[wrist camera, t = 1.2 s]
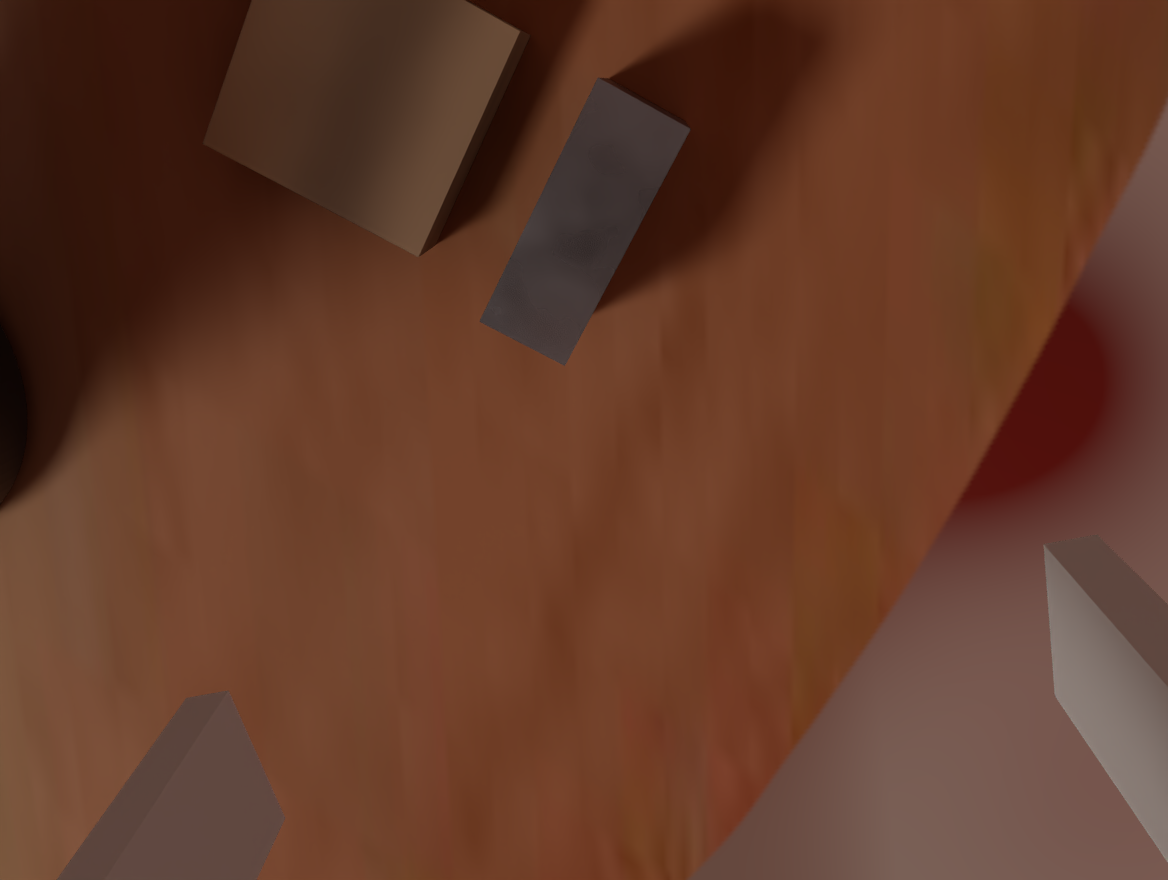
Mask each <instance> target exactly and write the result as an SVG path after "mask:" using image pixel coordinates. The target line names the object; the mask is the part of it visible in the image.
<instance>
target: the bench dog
mask: <svg viewBox="0 0 1168 880" xmlns="http://www.w3.org/2000/svg"><path fill="white" fill-rule="evenodd" d="M690 130H691V129H690V127H689V126H688V124H687V123H686V121H684V120H682V119H680V118H679V117H677V116H675V115H673V114H671V113H670V112H668V111H666V110H664V109H663V108H661V107H659V106H657V105H655V104H654V103H652V102H650V101H648V100H646V99H645V98H643V97H641V96H639V95H637V94H636V93H634V92H632V91H630V90H628V89H627V88H625V87H623V86H621V85H619V84H618V83H616V82H614V81H612V80H610V79H609V78H598V79H597V81H596V83H595V85H594V87H593V89H592V91H591V93H590V95H589V97H588V99H587V101H586V103H585V105H584V107H583V109H582V111H581V114H580V116H579V118H578V120H577V122H576V124H575V126H574V128H573V130H572V132H571V134H570V136H569V138H568V140H567V142H566V144H565V146H564V149H563V151H562V153H561V155H560V157H559V159H558V161H557V163H556V165H555V167H554V169H553V171H552V173H551V175H550V177H549V179H548V182H547V184H546V186H545V188H544V190H543V192H542V194H541V196H540V198H539V200H538V202H537V204H536V206H535V208H534V210H533V212H532V214H531V217H530V219H529V221H528V223H527V225H526V227H525V229H524V231H523V233H522V235H521V237H520V239H519V241H518V243H517V245H516V247H515V249H514V252H513V254H512V256H511V258H510V260H509V262H508V264H507V266H506V268H505V270H504V272H503V274H502V276H501V278H500V280H499V282H498V284H497V287H496V289H495V291H494V293H493V295H492V297H491V299H490V301H489V303H488V305H487V307H486V309H485V311H484V313H483V315H482V317H481V319H480V322H481V323H483V324H485V325H487V326H489V327H491V328H493V329H495V330H497V331H499V332H501V333H503V334H505V335H506V336H508V337H510V338H512V339H514V340H516V341H518V342H520V343H522V344H524V345H526V346H528V347H530V348H532V349H533V350H535V351H537V352H539V353H541V354H543V355H545V356H547V357H549V358H551V359H553V360H555V361H557V362H559V363H560V364H562V365H564V366H565V364H566V363H567V361H568V359H569V357H570V355H571V353H572V351H573V349H574V348H575V346H576V344H577V342H578V340H579V338H580V336H581V334H582V332H583V331H584V329H585V327H586V325H587V323H588V321H589V319H590V317H591V316H592V314H593V312H594V310H595V308H596V306H597V304H598V302H599V301H600V299H601V297H602V295H603V293H604V291H605V289H606V287H607V286H608V284H609V282H610V280H611V278H612V276H613V274H614V272H615V271H616V269H617V267H618V265H619V263H620V261H621V259H622V257H623V255H624V254H625V252H626V250H627V248H628V246H629V244H630V242H631V240H632V239H633V237H634V235H635V233H636V231H637V229H638V227H639V225H640V224H641V222H642V220H643V218H644V216H645V214H646V212H647V210H648V209H649V207H650V205H651V203H652V201H653V199H654V197H655V195H656V194H657V192H658V190H659V188H660V186H661V184H662V182H663V180H664V178H665V177H666V175H667V173H668V171H669V169H670V167H671V165H672V163H673V162H674V160H675V158H676V156H677V154H678V152H679V150H680V148H681V147H682V145H683V143H684V141H685V139H686V137H687V135H688V133H689V132H690Z"/></svg>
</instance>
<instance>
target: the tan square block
mask: <svg viewBox="0 0 1168 880" xmlns="http://www.w3.org/2000/svg"><path fill="white" fill-rule="evenodd" d="M530 36H531V35H529V34H527V33H525V32H524V31H522V30H520V29H518V28H517V27H515V26H513V25H511V24H509V23H508V22H506V21H504V20H502V19H500V18H499V17H497V16H495V15H493V14H491V13H490V12H488V11H486V10H484V9H483V8H481V7H479V6H477V5H475V4H474V3H472V2H470V1H468V0H252V1H251V4H250V7H249V10H248V13H247V16H246V19H245V21H244V24H243V27H242V30H241V33H240V36H239V39H238V42H237V45H236V48H235V50H234V53H233V56H232V59H231V62H230V65H229V68H228V71H227V74H226V77H225V80H224V82H223V85H222V88H221V91H220V94H219V97H218V100H217V103H216V106H215V109H214V112H213V114H212V117H211V120H210V123H209V126H208V129H207V132H206V135H205V138H204V141H203V144H204V145H206V146H208V147H210V148H212V149H213V150H215V151H217V152H219V153H221V154H223V155H225V156H227V157H229V158H231V159H232V160H234V161H236V162H238V163H240V164H242V165H244V166H246V167H248V168H250V169H251V170H253V171H255V172H257V173H259V174H261V175H263V176H265V177H267V178H269V179H271V180H272V181H274V182H276V183H278V184H280V185H282V186H284V187H286V188H288V189H290V190H291V191H293V192H295V193H297V194H299V195H301V196H303V197H305V198H307V199H309V200H310V201H312V202H314V203H316V204H318V205H320V206H322V207H324V208H326V209H328V210H329V211H331V212H333V213H335V214H337V215H339V216H341V217H343V218H345V219H347V220H349V221H350V222H352V223H354V224H356V225H358V226H360V227H362V228H364V229H366V230H368V231H369V232H371V233H373V234H375V235H377V236H379V237H381V238H383V239H385V240H387V241H388V242H390V243H392V244H394V245H396V246H398V247H400V248H402V249H404V250H406V251H408V252H409V253H411V254H413V255H415V256H417V257H419V256H421V255H422V254H424V253H425V252H426V251H428V250H429V249H431V248H432V247H433V246H435V245H436V243H437V241H438V238H439V236H440V234H441V232H442V230H443V227H444V225H445V223H446V221H447V219H448V216H449V214H450V212H451V210H452V208H453V205H454V203H455V201H456V199H457V197H458V194H459V192H460V190H461V188H462V186H463V183H464V181H465V179H466V177H467V175H468V172H469V170H470V168H471V166H472V164H473V161H474V159H475V157H476V155H477V153H478V150H479V148H480V146H481V144H482V142H483V139H484V137H485V135H486V133H487V131H488V128H489V126H490V124H491V122H492V120H493V117H494V115H495V113H496V111H497V109H498V106H499V104H500V102H501V100H502V98H503V95H504V93H505V91H506V89H507V87H508V84H509V82H510V80H511V78H512V76H513V73H514V71H515V69H516V67H517V65H518V62H519V60H520V58H521V56H522V54H523V51H524V49H525V47H526V45H527V43H528V40H529V38H530Z"/></svg>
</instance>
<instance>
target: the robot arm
mask: <svg viewBox="0 0 1168 880" xmlns="http://www.w3.org/2000/svg"><path fill="white" fill-rule="evenodd" d="M26 436H27V408H26V399H25V392H24V387H23V383H22V378H21V374H20V371H19V368H18V364H17V361H16V358H15V356H14V353H13V351H12V348H11V346H10V343H9V341H8V339H7V337H6V335H5V333H4V331H3V329H2V327H1V325H0V503H1V502H2V501H3V499H4V498H5V497H6V495H7V494H8V492H9V490H10V489H11V487H12V485H13V483H14V481H15V479H16V477H17V474H18V472H19V469H20V466H21V463H22V459H23V455H24V451H25V445H26ZM1044 556H1045V568H1046V582H1047V596H1048V609H1049V624H1050V636H1051V649H1052V650H1051V651H1052V664H1053V678H1054V691H1055V697H1056V698H1057V699H1058V701H1059V703H1060V704H1061V705H1062V707H1063V708H1064V710H1065V711H1066V713H1067V714H1068V716H1069V717H1070V719H1071V720H1072V722H1073V723H1074V725H1075V726H1076V728H1077V729H1078V731H1079V732H1080V734H1081V735H1082V736H1083V738H1084V740H1085V741H1086V742H1087V744H1088V745H1089V747H1090V748H1091V750H1092V751H1093V753H1094V754H1095V756H1096V757H1097V759H1098V760H1099V761H1100V763H1101V765H1102V766H1103V767H1104V769H1105V771H1106V772H1107V773H1108V775H1109V776H1110V778H1111V779H1112V781H1113V782H1114V784H1115V785H1116V787H1117V788H1118V790H1119V791H1120V793H1121V794H1122V795H1123V797H1124V799H1125V800H1126V802H1127V803H1128V804H1129V806H1130V807H1131V809H1132V810H1133V812H1134V813H1135V815H1136V816H1137V818H1138V819H1139V821H1140V822H1141V824H1142V825H1143V826H1144V828H1145V829H1146V831H1147V833H1148V834H1149V836H1150V837H1151V838H1152V840H1153V841H1154V843H1155V844H1156V846H1157V847H1158V849H1159V850H1160V852H1161V853H1162V855H1163V856H1164V858H1165V859H1166V861H1167V862H1168V605H1167V603H1166V602H1165V601H1164V600H1163V599H1162V598H1161V597H1160V596H1159V595H1158V594H1157V593H1156V592H1155V591H1154V590H1152V588H1151V587H1150V586H1149V585H1148V584H1147V583H1146V582H1145V581H1144V580H1143V579H1142V578H1140V577H1139V575H1138V574H1136V573H1135V572H1134V571H1133V570H1132V569H1131V568H1130V567H1129V566H1128V565H1127V564H1126V563H1125V562H1124V561H1123V560H1122V559H1121V558H1120V557H1119V556H1118V555H1117V554H1116V553H1115V552H1114V551H1113V550H1112V549H1111V548H1110V547H1109V546H1108V545H1107V544H1106V543H1105V542H1104V541H1103V540H1102V539H1101V538H1100V537H1099V536H1098V535H1092V536H1087V537H1081V538H1076V539H1070V540H1065V541H1059V542H1053V543H1048V544H1044ZM284 820H285V816H284V814H283V812H282V810H281V808H280V805H279V803H278V801H277V799H276V796H275V794H274V792H273V790H272V787H271V785H270V783H269V781H268V778H267V776H266V774H265V772H264V769H263V767H262V765H261V763H260V760H259V758H258V756H257V754H256V751H255V749H254V747H253V745H252V742H251V740H250V738H249V736H248V733H247V731H246V729H245V727H244V724H243V722H242V720H241V718H240V715H239V713H238V711H237V709H236V706H235V704H234V702H233V700H232V697H231V695H230V693H229V691H223V692H218V693H212V694H207V695H201V696H195V697H190V698H186V699H185V701H184V702H183V703H182V705H181V706H180V708H179V709H178V710H177V712H176V713H175V715H174V716H173V717H172V719H171V720H170V722H169V723H168V724H167V726H166V727H165V729H164V730H163V731H162V733H161V734H160V736H159V737H158V738H157V740H156V741H155V743H154V744H153V745H152V747H151V748H150V750H149V751H148V752H147V754H146V755H145V757H144V758H143V759H142V761H141V762H140V764H139V765H138V766H137V768H136V769H135V771H134V772H133V773H132V775H131V776H130V778H129V779H128V780H127V782H126V783H125V785H124V786H123V788H122V789H121V790H120V792H119V793H118V795H117V796H116V797H115V799H114V800H113V802H112V803H111V804H110V806H109V807H108V809H107V810H106V811H105V813H104V814H103V816H102V817H101V818H100V820H99V821H98V823H97V824H96V825H95V827H94V828H93V830H92V831H91V832H90V834H89V835H88V837H87V838H86V839H85V841H84V842H83V844H82V845H81V846H80V848H79V849H78V851H77V852H76V853H75V855H74V856H73V858H72V859H71V860H70V862H69V863H68V865H67V866H66V867H65V869H64V870H63V872H62V873H61V874H60V876H59V877H58V879H57V880H257V877H258V875H259V873H260V871H261V869H262V867H263V865H264V862H265V860H266V858H267V856H268V854H269V852H270V850H271V847H272V845H273V843H274V841H275V839H276V837H277V835H278V832H279V830H280V828H281V826H282V824H283V822H284Z"/></svg>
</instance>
